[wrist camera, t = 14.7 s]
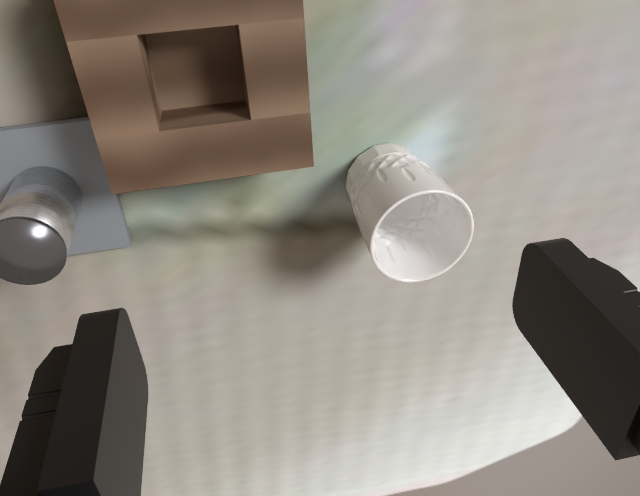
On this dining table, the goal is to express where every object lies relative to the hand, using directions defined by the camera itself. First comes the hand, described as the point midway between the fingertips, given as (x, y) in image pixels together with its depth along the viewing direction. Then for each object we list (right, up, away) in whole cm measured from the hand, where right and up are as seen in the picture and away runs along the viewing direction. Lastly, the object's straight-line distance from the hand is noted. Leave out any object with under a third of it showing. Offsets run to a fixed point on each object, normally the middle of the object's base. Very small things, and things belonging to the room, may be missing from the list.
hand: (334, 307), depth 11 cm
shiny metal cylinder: (-21, +5, +31) cm, 38 cm away
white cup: (+5, +7, +37) cm, 38 cm away
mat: (-21, +6, +31) cm, 38 cm away
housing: (-9, +15, +28) cm, 33 cm away
